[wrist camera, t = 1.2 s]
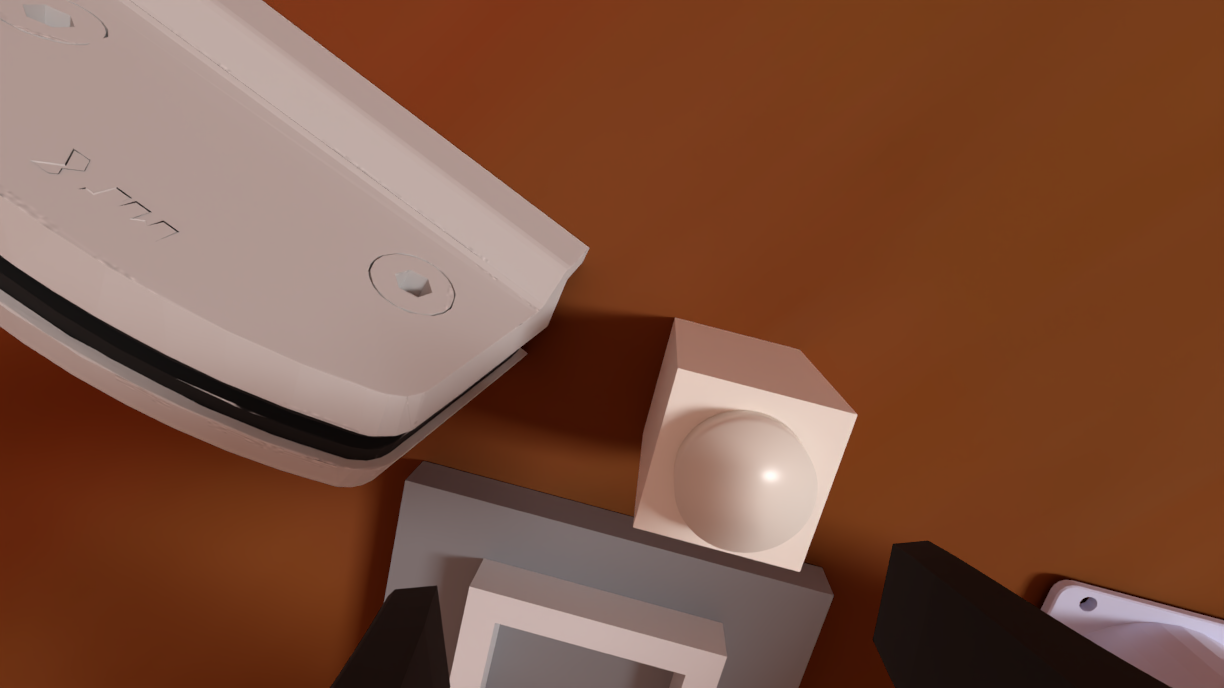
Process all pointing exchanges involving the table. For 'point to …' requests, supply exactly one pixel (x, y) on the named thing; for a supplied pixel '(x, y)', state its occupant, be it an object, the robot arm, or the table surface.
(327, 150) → the white speaker
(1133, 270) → the table surface
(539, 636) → the housing
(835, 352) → the table surface
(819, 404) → the cube with dome top
